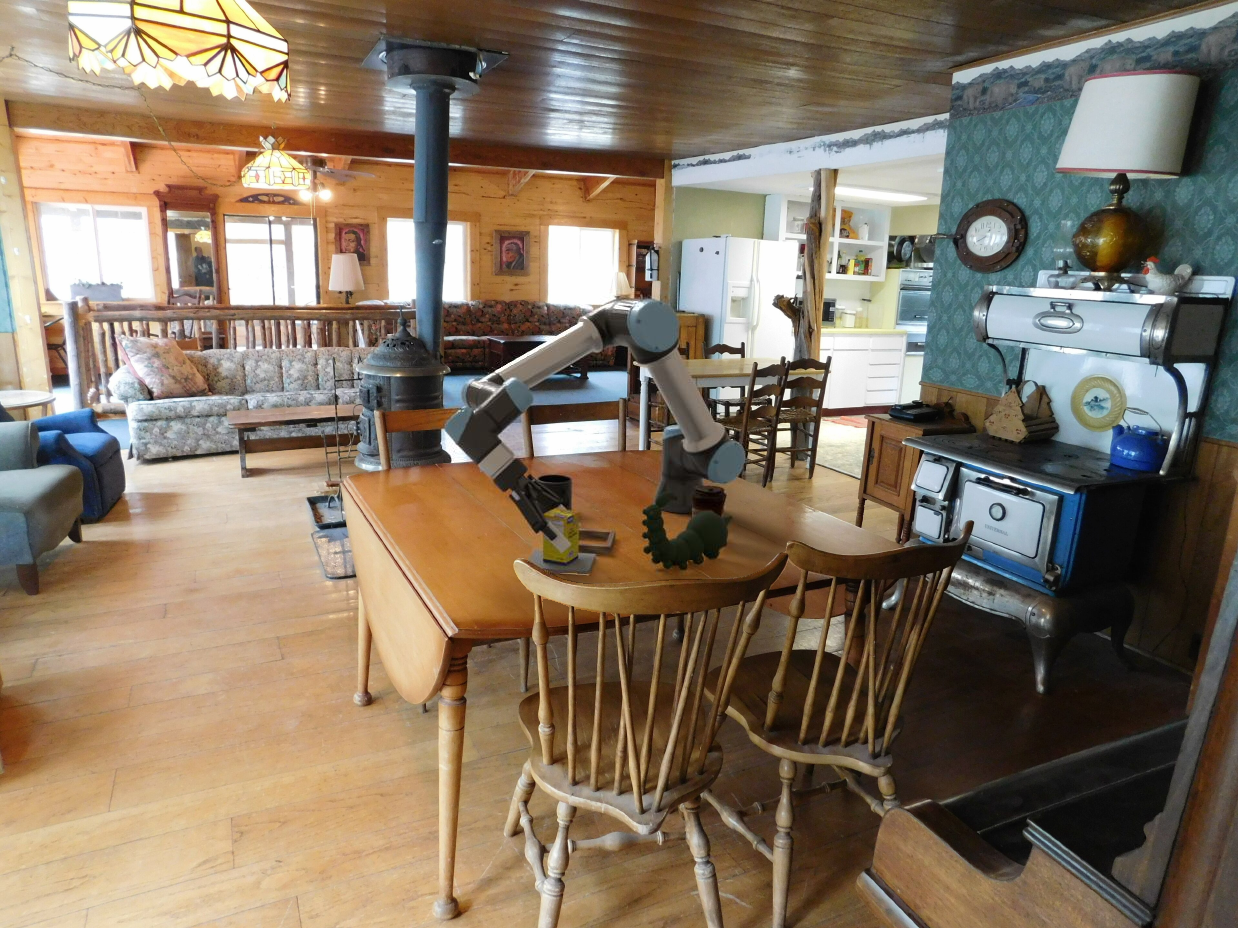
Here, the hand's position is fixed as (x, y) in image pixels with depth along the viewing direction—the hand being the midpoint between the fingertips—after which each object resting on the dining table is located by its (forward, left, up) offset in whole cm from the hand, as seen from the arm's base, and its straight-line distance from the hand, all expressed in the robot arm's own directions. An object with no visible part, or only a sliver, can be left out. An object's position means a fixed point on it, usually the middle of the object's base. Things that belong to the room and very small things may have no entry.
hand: (571, 538), depth 173 cm
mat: (+2, 0, -6) cm, 7 cm away
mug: (+10, -39, -6) cm, 41 cm away
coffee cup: (-30, -24, -6) cm, 39 cm away
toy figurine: (-26, -6, -6) cm, 27 cm away
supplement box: (+2, 0, -5) cm, 6 cm away
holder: (-2, -14, -6) cm, 15 cm away
